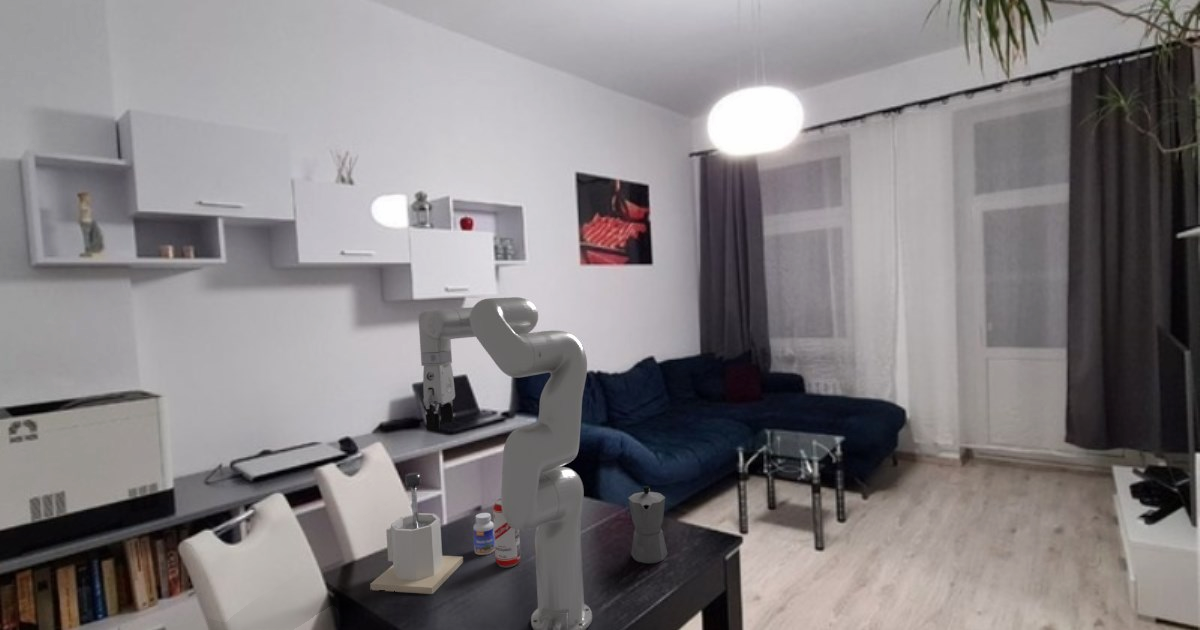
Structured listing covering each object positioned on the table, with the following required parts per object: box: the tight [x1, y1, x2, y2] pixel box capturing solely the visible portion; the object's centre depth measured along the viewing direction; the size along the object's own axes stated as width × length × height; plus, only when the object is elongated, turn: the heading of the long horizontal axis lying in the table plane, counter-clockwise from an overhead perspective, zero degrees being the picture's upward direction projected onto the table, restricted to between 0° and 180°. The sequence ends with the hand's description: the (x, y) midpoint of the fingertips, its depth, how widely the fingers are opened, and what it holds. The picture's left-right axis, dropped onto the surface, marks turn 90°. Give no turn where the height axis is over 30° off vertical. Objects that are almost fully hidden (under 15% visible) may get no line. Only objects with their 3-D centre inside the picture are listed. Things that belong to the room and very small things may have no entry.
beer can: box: [492, 498, 522, 568], centre depth 148 cm, size 6×6×16 cm
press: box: [369, 512, 464, 595], centre depth 143 cm, size 16×16×14 cm
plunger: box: [400, 471, 431, 529], centre depth 143 cm, size 8×8×14 cm
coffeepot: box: [627, 485, 668, 564], centre depth 149 cm, size 15×9×18 cm, turn 174°
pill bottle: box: [473, 512, 495, 556], centre depth 156 cm, size 5×5×10 cm
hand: (440, 425), depth 148 cm, fingers open, 9 cm apart
